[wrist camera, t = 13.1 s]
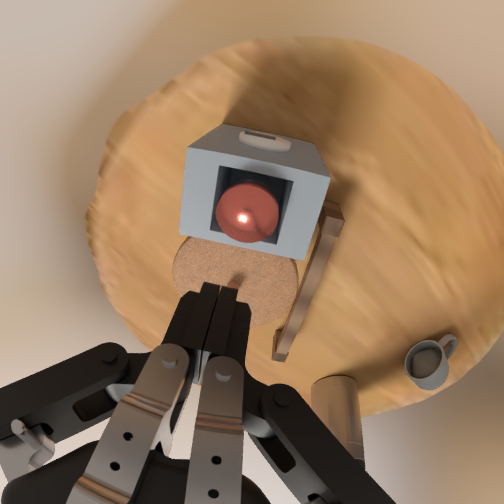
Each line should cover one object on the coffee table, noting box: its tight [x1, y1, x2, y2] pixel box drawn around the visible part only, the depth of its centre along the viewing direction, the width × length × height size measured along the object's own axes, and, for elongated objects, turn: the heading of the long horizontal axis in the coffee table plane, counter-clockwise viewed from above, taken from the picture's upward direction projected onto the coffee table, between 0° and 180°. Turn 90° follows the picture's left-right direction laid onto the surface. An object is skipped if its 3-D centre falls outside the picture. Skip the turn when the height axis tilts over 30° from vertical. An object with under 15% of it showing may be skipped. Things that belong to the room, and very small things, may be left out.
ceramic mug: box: [404, 334, 457, 390], centre depth 41 cm, size 11×8×8 cm
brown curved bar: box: [272, 200, 345, 362], centre depth 37 cm, size 24×2×4 cm, turn 169°
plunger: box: [216, 171, 279, 243], centre depth 22 cm, size 4×4×6 cm
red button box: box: [179, 124, 331, 261], centre depth 26 cm, size 8×10×12 cm
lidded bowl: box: [173, 236, 298, 327], centre depth 32 cm, size 13×13×11 cm
